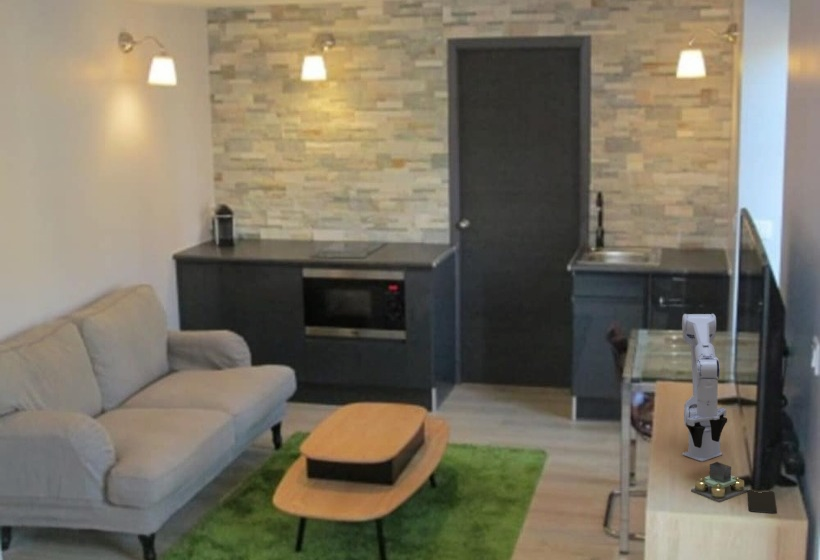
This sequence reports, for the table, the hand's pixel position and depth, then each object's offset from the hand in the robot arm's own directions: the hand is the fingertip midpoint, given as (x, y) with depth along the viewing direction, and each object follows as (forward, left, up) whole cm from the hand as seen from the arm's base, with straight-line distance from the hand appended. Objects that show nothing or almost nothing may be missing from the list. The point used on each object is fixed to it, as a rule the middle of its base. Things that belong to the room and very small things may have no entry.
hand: (706, 443), depth 320 cm
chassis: (+7, +11, -9) cm, 16 cm away
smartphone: (+4, +23, -10) cm, 25 cm away
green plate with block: (+7, +11, -6) cm, 15 cm away
